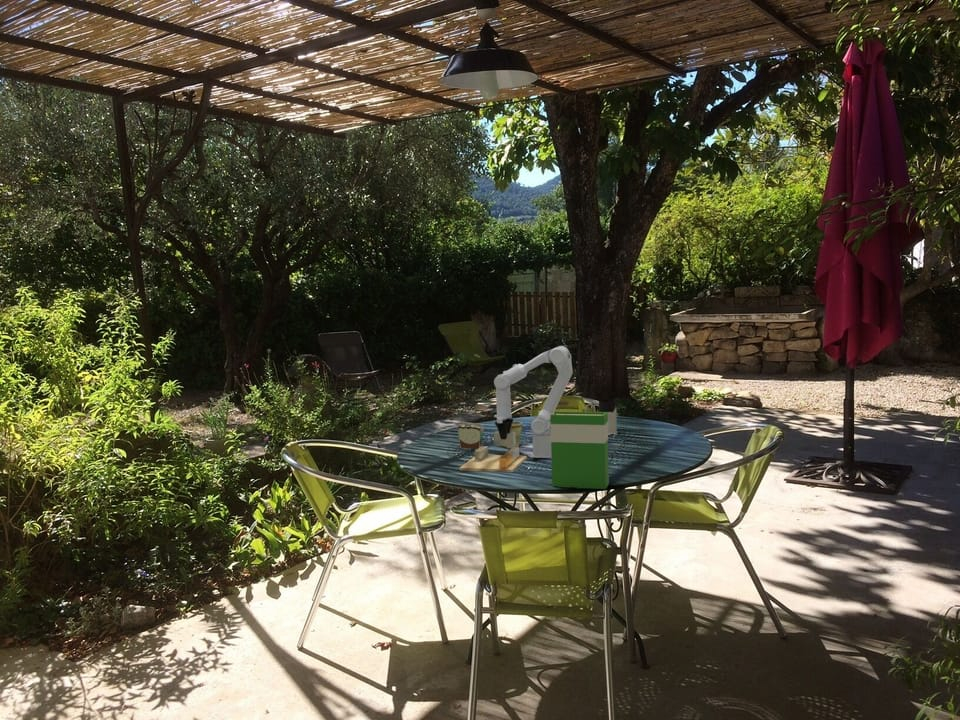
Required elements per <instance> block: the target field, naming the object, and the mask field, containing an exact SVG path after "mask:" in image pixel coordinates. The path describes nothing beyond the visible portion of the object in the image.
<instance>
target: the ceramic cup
mask: <svg viewBox="0 0 960 720" xmlns="http://www.w3.org/2000/svg"><path fill="white" fill-rule="evenodd" d="M522 430H523V422H522V421H519V420H518V421H517V420H513V422H512V425H511V429H510V432H516V444H515V445H514V446H502V447H503V448H505V447H506V449H511V448H512V447H519V446H520V442H521V441H520V440H521V433H522Z"/></svg>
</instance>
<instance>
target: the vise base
mask: <svg viewBox="0 0 960 720" xmlns="http://www.w3.org/2000/svg"><path fill="white" fill-rule="evenodd" d="M503 455H504V454H489V446H487V445H486V446H485V445H481V447H480V448H479V449H477V450H474V457H472V458H470V459H469V460H468V461H467V462H465V463H464V464H463V465H461V466H460V467H459V471H461V472H462V471H468V472H493V473H494V472H495V473H513V472H515V470H517V469H518V468H519V467H520V466H521V465H522V464H523V463H524V462H525V461H527V459H528V455H519V457H518V458H517V459H516V460H514V461H513V462H512V463H511V464H510V465H509V466H508V467H507V468H500V465H499V458H500V457H501V456H503Z"/></svg>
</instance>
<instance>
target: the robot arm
mask: <svg viewBox="0 0 960 720" xmlns="http://www.w3.org/2000/svg"><path fill="white" fill-rule="evenodd" d="M544 363H547V364H551V363H552V364H553V365H554V366H555V368H556V370H557V372H558V375H557V377H556V378H555V381H554V383H553V384H552V387H551V389H550V391H549V393H548V396H547V398H546V399H545V402H544V404H543V406H542V408H541V410H540V412H539V413H538V415H537V417H536V418H535V419H533V421H532V422H531V424H530V429H531V431H532V433H531V434H532V436H531V437H532V454H533V455H532V454H531V455H530V456H529V457H530V458H534V457H535V459H536V458H537V459H538V458H539V459H542V458H543V459H552V455H551V417H550V415H554V414H555V411H556V408H557V406H558V405H559V402H560V400H561V398H562V396H563V394H564V392H565V390H566V388H567V386H568V385H569V381H570V379H571V377H572V375H573V365H572V364H573V363H572V354H571V353H570V350H569V349H568V348H567V347H566V346H565V345H564V346H563V345H559V346H556V347H554V348H552V349H549V350H547V351H544V352H542V353H540V354H539V355H537V356H535V357H534V358H532V359H531V360H529V361H528V362H526V363H524V364H521V363H518V364H517V363H515V364H513V365H512V367H511V368H509V369H508V370H504V371H502V374H497V376H496V377H495V378H494V379H493V385H494V387H495V391H496V392H495V399H496V402H495V403H496V404H495V405H496V414H494V415H493V417H494V418H496V421H494V424H495V427H496V429H497V431H499V435H500V438H501V439H506V438H507V432H510V429H511V425H512V422H513V421H514V418H512V417H513V416H512V402H511V401H512V399H511V386H512V385H515V383H518V382H519V381H521V380H522V379H524V378H527V374H528V372H529V371H531V370H532V369H535V368H537V367H538V366H540V365H541V364H544Z"/></svg>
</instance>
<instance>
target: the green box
mask: <svg viewBox="0 0 960 720" xmlns="http://www.w3.org/2000/svg"><path fill="white" fill-rule="evenodd" d="M550 417H551V427H550V432H551V455H552V458H551V481H552V483H551V484H552V486H557V487H556V488H571V487H577V488H578V489H595V490H597V489H600V490H606V489H607V488H608V486H609V483H610V476H609V475H610V473H609V472H610V471H609V469H610V468H609V467H610V465H609V464H610V463H609V462H610V461H609V436H608V412H599V411H596V412H595V411H586V412H585V411H556V410H555V411H554V414H553V415H550ZM577 488H576V489H577Z"/></svg>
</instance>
